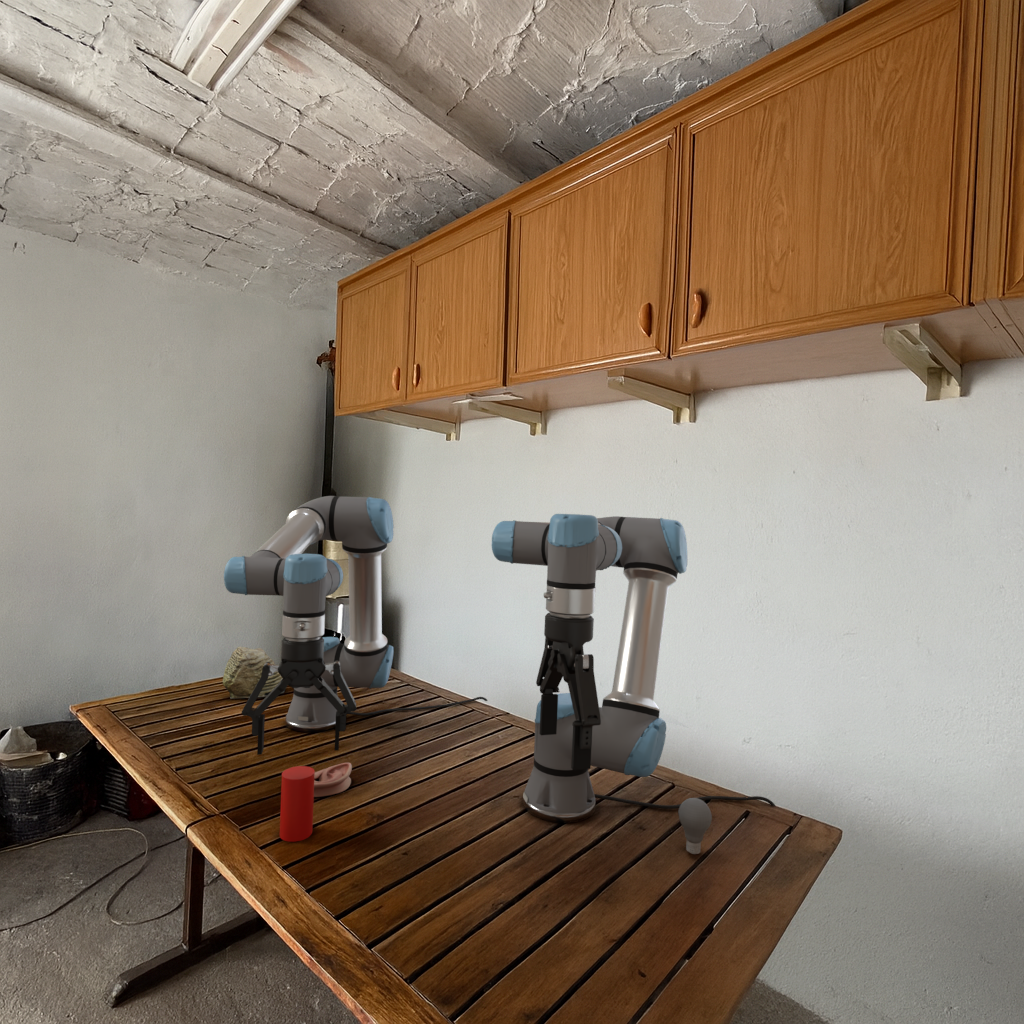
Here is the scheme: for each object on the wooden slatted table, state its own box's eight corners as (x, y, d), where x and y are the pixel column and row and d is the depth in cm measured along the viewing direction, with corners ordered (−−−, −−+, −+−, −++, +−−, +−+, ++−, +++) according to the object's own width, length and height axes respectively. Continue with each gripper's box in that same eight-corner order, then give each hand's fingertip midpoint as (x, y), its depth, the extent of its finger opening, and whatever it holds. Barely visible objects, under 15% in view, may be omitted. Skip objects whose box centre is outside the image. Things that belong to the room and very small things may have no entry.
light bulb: (672, 843, 121) (674, 791, 121) (702, 843, 121) (705, 792, 121) (683, 861, 115) (685, 807, 115) (715, 861, 115) (717, 807, 115)
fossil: (218, 695, 195) (220, 647, 195) (278, 685, 208) (279, 640, 207) (228, 703, 189) (230, 653, 188) (289, 692, 201) (290, 645, 201)
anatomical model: (276, 775, 134) (304, 754, 145) (275, 793, 134) (304, 771, 145) (334, 783, 131) (358, 761, 142) (333, 802, 131) (357, 779, 142)
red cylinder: (276, 830, 120) (278, 769, 120) (307, 822, 123) (309, 763, 123) (283, 845, 115) (286, 781, 115) (316, 836, 118) (318, 775, 118)
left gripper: (227, 642, 112) (223, 761, 112) (372, 641, 118) (367, 754, 118) (235, 633, 119) (231, 745, 119) (371, 632, 125) (366, 738, 125)
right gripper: (521, 600, 109) (515, 723, 109) (579, 631, 85) (571, 788, 85) (562, 600, 111) (556, 720, 111) (629, 630, 87) (622, 783, 87)
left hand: (299, 749), depth 119 cm, fingers open, 13 cm apart
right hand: (563, 750), depth 98 cm, fingers open, 13 cm apart
